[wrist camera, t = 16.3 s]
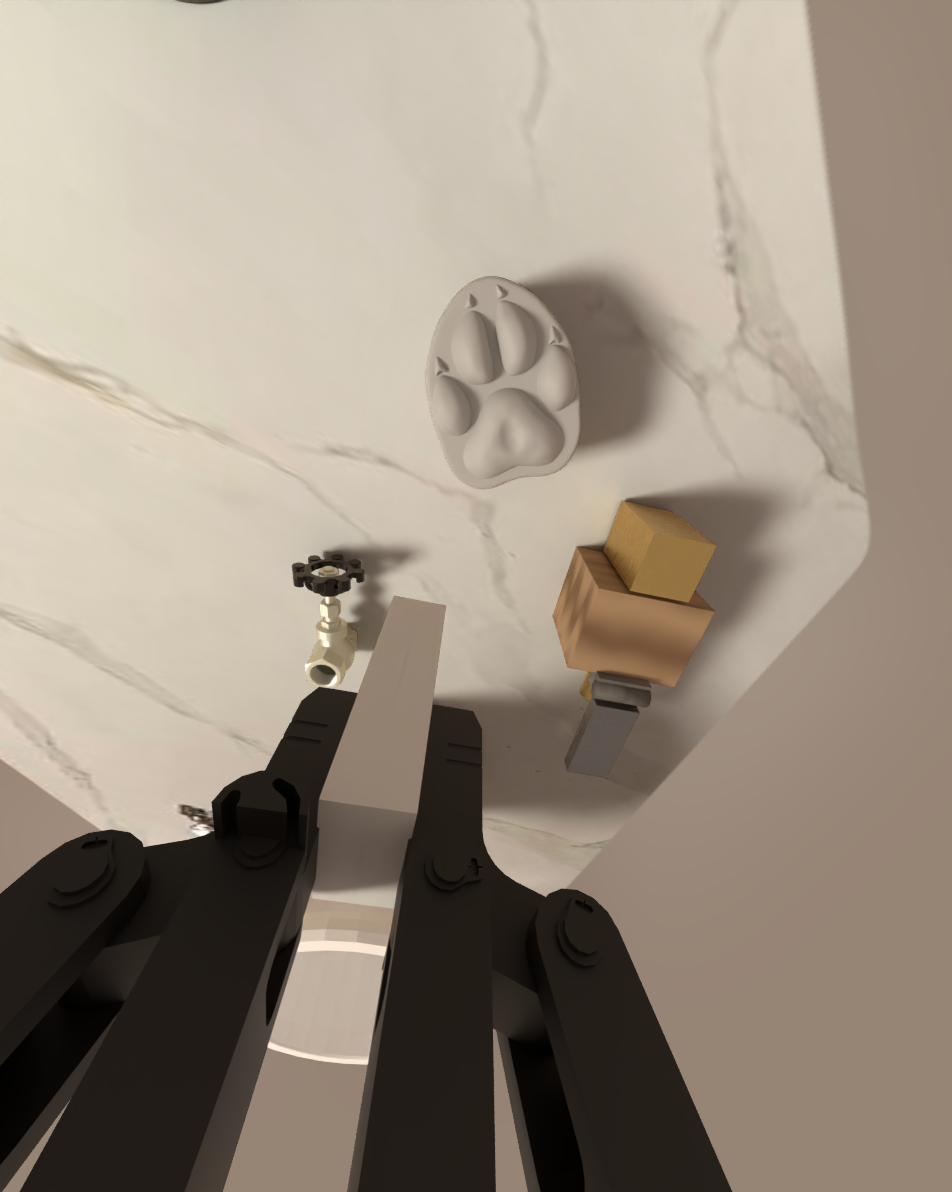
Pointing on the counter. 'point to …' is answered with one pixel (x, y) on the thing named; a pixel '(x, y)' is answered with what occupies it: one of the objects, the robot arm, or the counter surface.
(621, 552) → the pin
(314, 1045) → the bucket
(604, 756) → the lever
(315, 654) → the valve
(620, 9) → the counter surface
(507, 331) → the lumpy-topped squat cylinder
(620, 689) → the block
